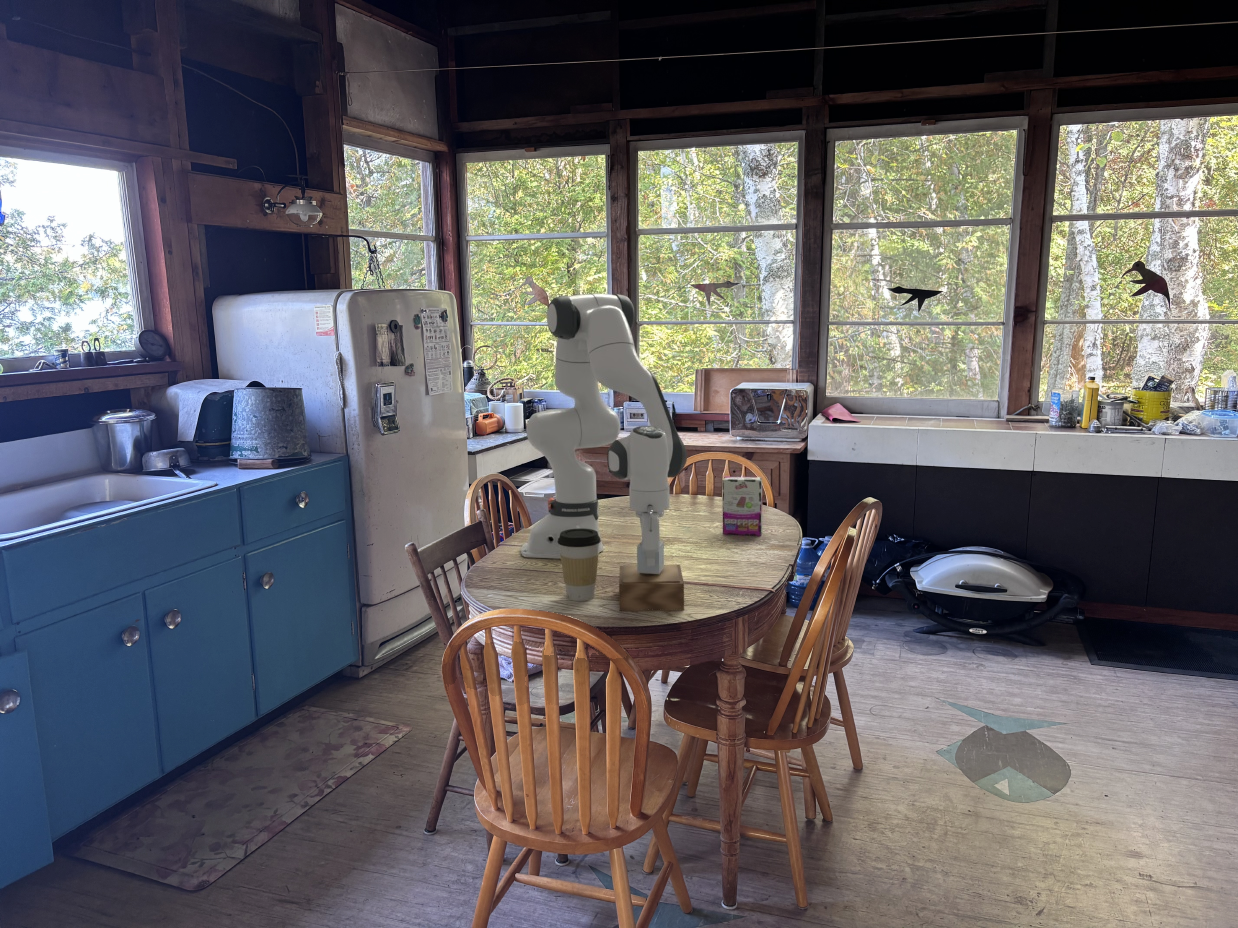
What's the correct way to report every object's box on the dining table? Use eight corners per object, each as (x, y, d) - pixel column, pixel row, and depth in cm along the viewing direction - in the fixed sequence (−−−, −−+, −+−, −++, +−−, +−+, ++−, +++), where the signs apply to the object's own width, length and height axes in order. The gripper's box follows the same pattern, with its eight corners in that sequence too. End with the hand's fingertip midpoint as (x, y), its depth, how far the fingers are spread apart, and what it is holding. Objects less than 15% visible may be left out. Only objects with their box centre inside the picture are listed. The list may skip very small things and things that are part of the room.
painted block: (637, 572, 191) (636, 546, 190) (642, 566, 195) (641, 540, 194) (659, 573, 189) (659, 547, 188) (663, 567, 194) (663, 541, 193)
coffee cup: (601, 589, 202) (600, 527, 199) (602, 603, 192) (600, 538, 189) (559, 590, 201) (557, 528, 199) (558, 604, 192) (556, 539, 189)
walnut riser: (619, 610, 187) (619, 583, 186) (620, 590, 201) (619, 564, 199) (684, 609, 187) (683, 582, 185) (680, 589, 200) (680, 563, 199)
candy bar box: (762, 532, 250) (763, 476, 247) (761, 536, 246) (761, 480, 243) (724, 530, 253) (724, 475, 250) (722, 534, 248) (722, 479, 245)
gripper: (665, 511, 179) (666, 574, 182) (662, 490, 199) (662, 548, 202) (635, 511, 179) (636, 575, 182) (634, 491, 200) (635, 548, 202)
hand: (650, 560), depth 192 cm, fingers closed on painted block, 6 cm apart
